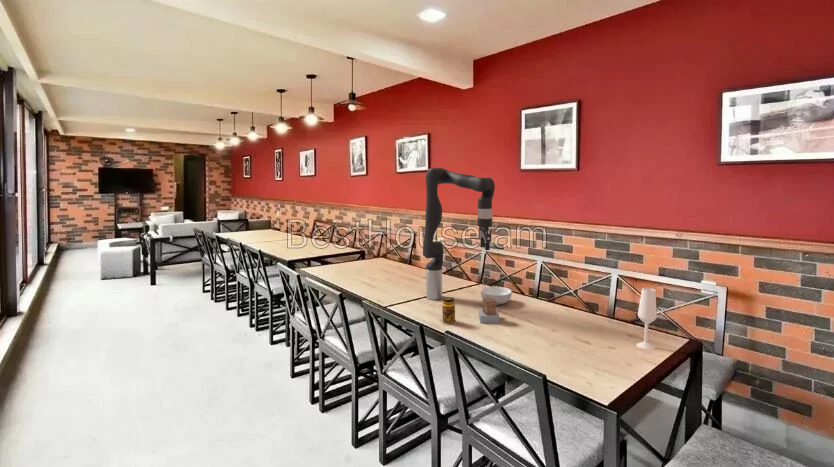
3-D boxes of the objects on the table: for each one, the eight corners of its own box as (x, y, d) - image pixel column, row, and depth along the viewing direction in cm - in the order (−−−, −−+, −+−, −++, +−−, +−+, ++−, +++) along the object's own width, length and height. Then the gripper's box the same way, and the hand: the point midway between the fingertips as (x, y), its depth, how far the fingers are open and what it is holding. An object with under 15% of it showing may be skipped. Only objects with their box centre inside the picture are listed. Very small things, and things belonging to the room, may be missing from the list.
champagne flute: (638, 341, 176) (641, 286, 172) (656, 345, 172) (659, 288, 168) (634, 346, 171) (637, 289, 167) (653, 351, 166) (656, 292, 163)
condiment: (444, 325, 200) (444, 301, 198) (438, 319, 208) (438, 296, 206) (458, 323, 202) (458, 299, 200) (452, 317, 210) (451, 294, 208)
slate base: (478, 317, 211) (478, 309, 210) (496, 317, 210) (496, 309, 210) (480, 323, 202) (480, 315, 201) (499, 323, 201) (499, 315, 201)
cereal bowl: (475, 300, 237) (475, 288, 236) (499, 296, 244) (499, 284, 243) (492, 309, 222) (492, 296, 221) (517, 304, 228) (517, 292, 227)
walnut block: (482, 312, 207) (482, 298, 206) (492, 311, 208) (492, 297, 207) (486, 315, 202) (486, 301, 201) (496, 314, 203) (496, 300, 202)
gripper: (474, 216, 219) (474, 246, 221) (481, 219, 205) (481, 251, 207) (487, 215, 220) (487, 246, 222) (496, 218, 206) (496, 250, 208)
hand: (484, 248), depth 215 cm, fingers open, 8 cm apart
